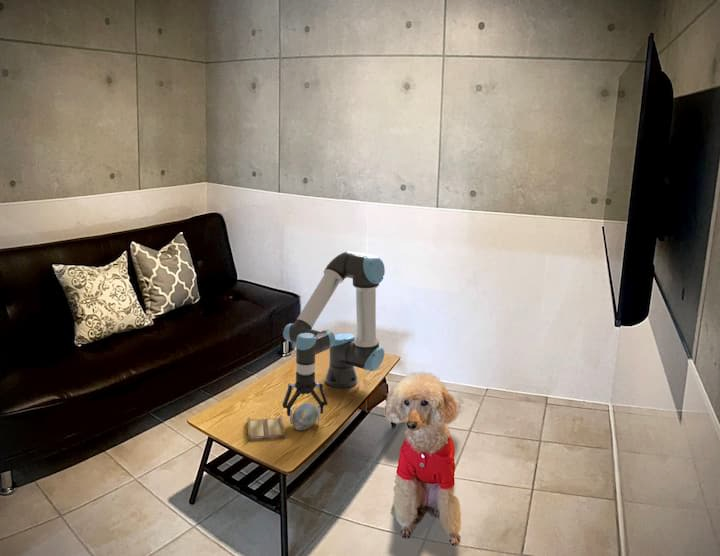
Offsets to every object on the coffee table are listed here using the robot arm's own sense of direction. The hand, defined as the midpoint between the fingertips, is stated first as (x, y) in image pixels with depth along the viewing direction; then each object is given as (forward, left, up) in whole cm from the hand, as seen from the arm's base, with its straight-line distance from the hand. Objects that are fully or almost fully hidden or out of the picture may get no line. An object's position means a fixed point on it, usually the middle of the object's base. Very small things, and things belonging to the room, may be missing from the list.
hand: (304, 421), depth 249 cm
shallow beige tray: (+16, +2, -2) cm, 16 cm away
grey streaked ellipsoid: (0, 0, -2) cm, 2 cm away
